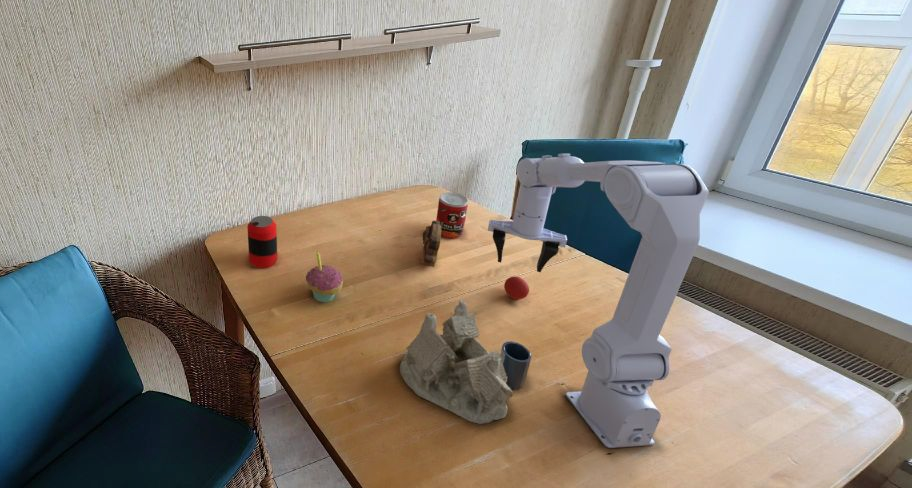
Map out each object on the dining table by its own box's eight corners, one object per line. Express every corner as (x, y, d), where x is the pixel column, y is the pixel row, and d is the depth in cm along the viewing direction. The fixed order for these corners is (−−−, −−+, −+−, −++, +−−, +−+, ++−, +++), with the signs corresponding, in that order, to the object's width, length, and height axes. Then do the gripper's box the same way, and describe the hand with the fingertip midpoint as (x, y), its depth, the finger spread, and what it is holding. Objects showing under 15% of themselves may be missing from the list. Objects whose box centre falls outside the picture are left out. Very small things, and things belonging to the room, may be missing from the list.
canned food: (435, 237, 122) (440, 203, 118) (434, 223, 130) (438, 190, 126) (464, 241, 120) (470, 206, 116) (461, 226, 127) (466, 193, 123)
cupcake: (300, 300, 99) (300, 257, 95) (314, 279, 106) (315, 238, 102) (335, 312, 95) (337, 268, 91) (347, 289, 102) (349, 247, 98)
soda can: (243, 258, 115) (241, 220, 111) (266, 248, 119) (264, 211, 115) (260, 272, 109) (258, 232, 105) (282, 261, 114) (282, 222, 109)
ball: (531, 303, 97) (536, 285, 95) (510, 304, 97) (514, 286, 95) (518, 288, 101) (522, 271, 100) (498, 289, 101) (501, 272, 99)
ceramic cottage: (391, 353, 84) (403, 295, 78) (470, 347, 86) (487, 291, 80) (424, 433, 70) (441, 371, 64) (517, 425, 72) (543, 364, 66)
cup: (529, 388, 77) (537, 361, 74) (505, 389, 77) (511, 362, 74) (514, 366, 81) (521, 340, 79) (491, 368, 81) (497, 342, 79)
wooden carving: (417, 240, 121) (421, 209, 118) (434, 242, 120) (438, 211, 117) (421, 276, 106) (425, 242, 103) (440, 278, 105) (445, 244, 102)
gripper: (569, 210, 90) (555, 263, 95) (493, 196, 97) (484, 246, 102) (573, 226, 84) (558, 282, 89) (491, 210, 91) (481, 263, 96)
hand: (518, 264), depth 95 cm, fingers open, 7 cm apart
